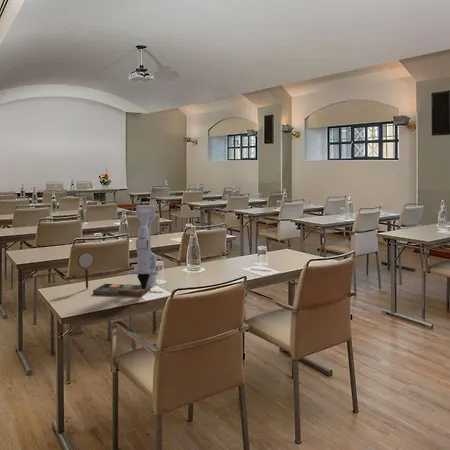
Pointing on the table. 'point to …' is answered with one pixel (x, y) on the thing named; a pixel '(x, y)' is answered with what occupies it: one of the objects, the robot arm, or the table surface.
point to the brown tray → (134, 291)
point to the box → (106, 290)
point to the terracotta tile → (114, 287)
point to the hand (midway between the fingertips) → (144, 288)
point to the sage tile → (128, 287)
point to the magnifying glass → (86, 263)
